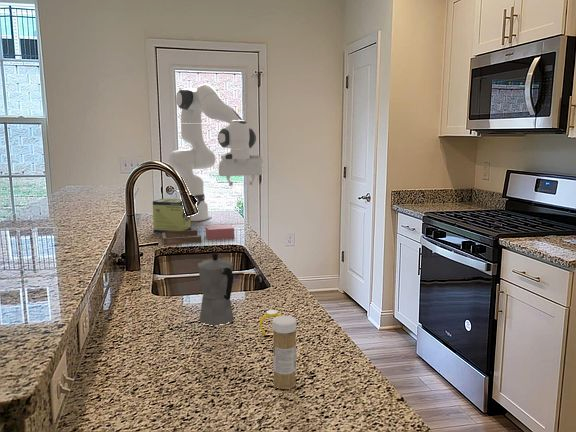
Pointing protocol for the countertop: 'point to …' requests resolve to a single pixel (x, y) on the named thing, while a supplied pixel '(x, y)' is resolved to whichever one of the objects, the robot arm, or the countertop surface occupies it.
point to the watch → (271, 314)
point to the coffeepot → (216, 290)
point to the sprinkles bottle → (284, 351)
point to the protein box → (170, 216)
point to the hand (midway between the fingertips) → (240, 185)
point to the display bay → (181, 239)
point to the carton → (219, 232)
